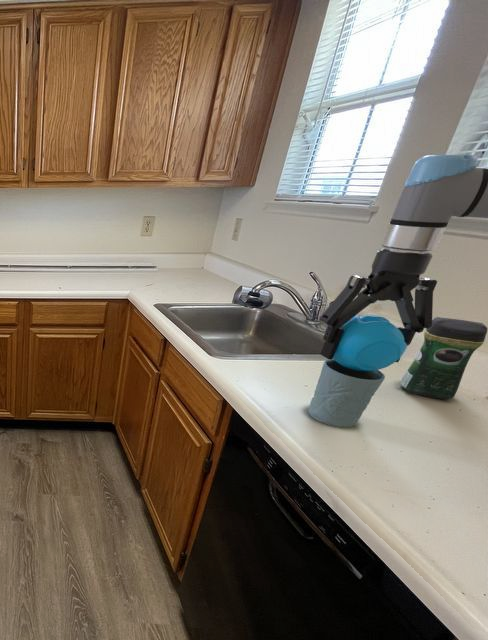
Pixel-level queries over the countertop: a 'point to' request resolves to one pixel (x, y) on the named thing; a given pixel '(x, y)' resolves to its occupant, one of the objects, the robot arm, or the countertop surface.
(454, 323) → the coffee jar
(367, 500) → the countertop surface
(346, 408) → the grey embossed pot
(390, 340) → the blue rounded lump
